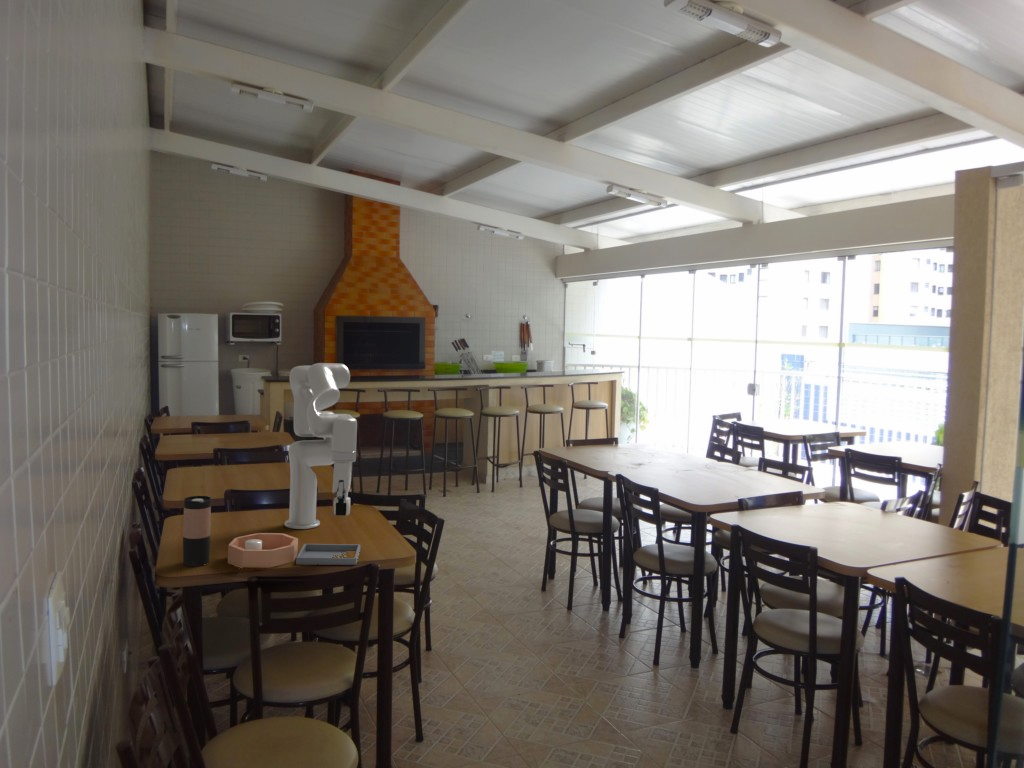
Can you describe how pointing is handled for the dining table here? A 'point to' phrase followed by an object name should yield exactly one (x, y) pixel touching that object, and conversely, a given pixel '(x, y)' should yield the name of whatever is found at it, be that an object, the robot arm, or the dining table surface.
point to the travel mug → (196, 530)
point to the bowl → (263, 550)
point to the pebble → (346, 505)
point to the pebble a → (253, 544)
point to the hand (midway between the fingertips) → (341, 512)
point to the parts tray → (327, 554)
